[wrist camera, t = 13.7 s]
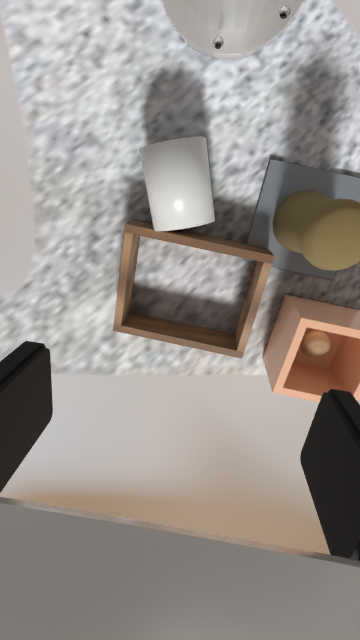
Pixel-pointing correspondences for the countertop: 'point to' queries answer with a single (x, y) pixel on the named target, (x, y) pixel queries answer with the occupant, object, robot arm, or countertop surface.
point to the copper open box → (305, 372)
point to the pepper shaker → (319, 229)
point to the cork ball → (315, 344)
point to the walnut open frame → (179, 331)
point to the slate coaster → (275, 189)
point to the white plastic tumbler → (178, 183)
